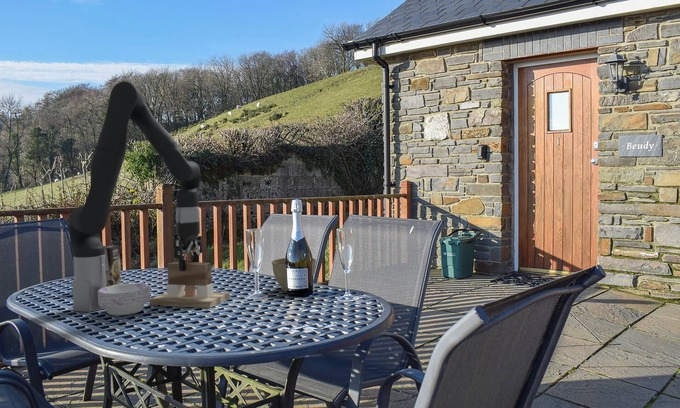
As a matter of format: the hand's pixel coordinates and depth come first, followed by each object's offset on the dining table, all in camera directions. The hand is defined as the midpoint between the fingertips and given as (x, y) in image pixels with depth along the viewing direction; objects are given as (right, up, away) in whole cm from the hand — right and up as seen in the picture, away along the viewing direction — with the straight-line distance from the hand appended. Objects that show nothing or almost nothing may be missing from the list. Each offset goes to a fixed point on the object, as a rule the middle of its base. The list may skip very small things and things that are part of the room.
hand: (189, 268), depth 186 cm
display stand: (0, -11, +1) cm, 11 cm away
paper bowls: (-17, -12, -12) cm, 24 cm away
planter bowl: (+34, -10, +17) cm, 39 cm away
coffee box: (-38, -11, +25) cm, 47 cm away
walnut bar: (0, -5, 0) cm, 5 cm away
